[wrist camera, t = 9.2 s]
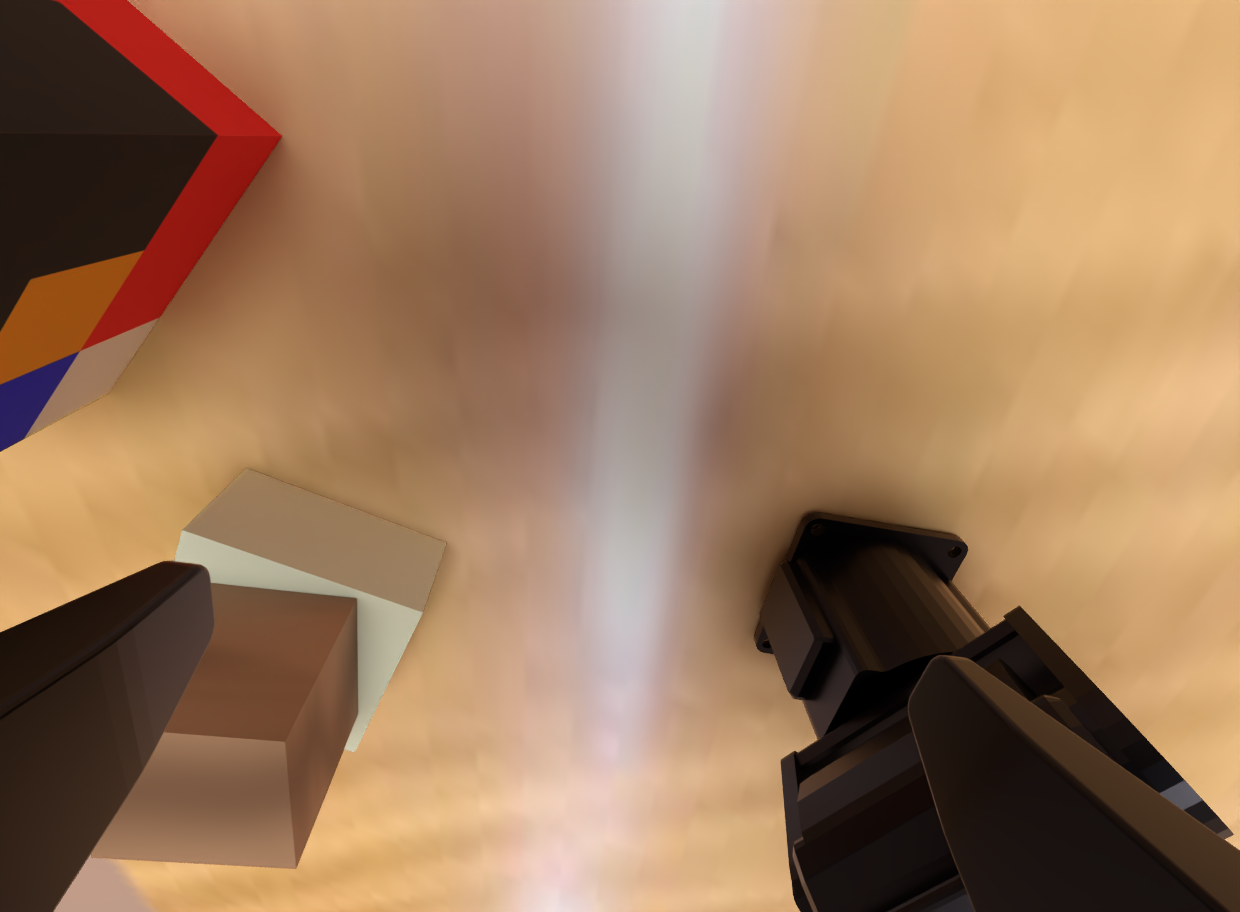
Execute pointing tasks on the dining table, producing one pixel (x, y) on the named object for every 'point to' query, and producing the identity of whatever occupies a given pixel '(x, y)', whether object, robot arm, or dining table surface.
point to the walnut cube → (248, 736)
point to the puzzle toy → (102, 194)
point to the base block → (321, 565)
